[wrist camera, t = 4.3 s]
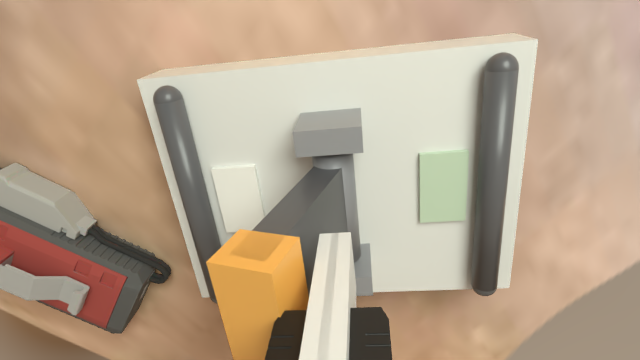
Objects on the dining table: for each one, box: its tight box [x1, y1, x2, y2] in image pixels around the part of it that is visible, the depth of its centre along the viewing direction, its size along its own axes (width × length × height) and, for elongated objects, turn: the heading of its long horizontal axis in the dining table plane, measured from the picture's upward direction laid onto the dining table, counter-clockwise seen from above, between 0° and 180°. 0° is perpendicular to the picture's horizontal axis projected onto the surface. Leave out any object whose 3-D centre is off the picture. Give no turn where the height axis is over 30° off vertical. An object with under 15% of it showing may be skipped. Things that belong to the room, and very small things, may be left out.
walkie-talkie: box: [0, 163, 171, 333], centre depth 26 cm, size 9×4×20 cm
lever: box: [206, 154, 361, 360], centre depth 17 cm, size 6×2×10 cm, turn 6°
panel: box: [137, 33, 538, 304], centre depth 22 cm, size 14×19×6 cm
